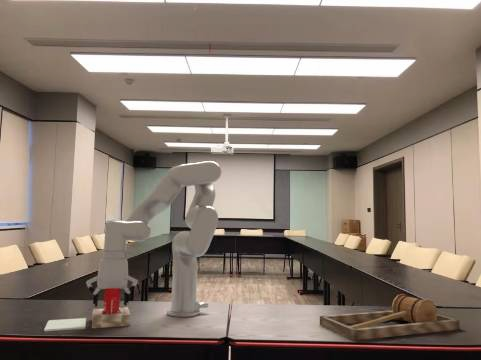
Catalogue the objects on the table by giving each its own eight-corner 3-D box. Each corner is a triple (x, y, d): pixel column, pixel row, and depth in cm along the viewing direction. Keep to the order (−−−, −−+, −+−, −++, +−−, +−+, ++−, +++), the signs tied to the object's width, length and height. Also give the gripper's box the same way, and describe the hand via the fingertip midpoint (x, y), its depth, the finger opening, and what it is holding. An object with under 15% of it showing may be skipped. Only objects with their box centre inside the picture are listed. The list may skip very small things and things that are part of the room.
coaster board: (86, 319, 132) (86, 318, 132) (85, 328, 121) (85, 326, 121) (48, 322, 128) (48, 320, 128) (43, 331, 117) (44, 329, 117)
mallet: (333, 340, 129) (329, 311, 130) (412, 317, 144) (408, 291, 145) (357, 352, 118) (353, 319, 119) (440, 325, 133) (436, 297, 134)
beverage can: (113, 324, 127) (115, 288, 128) (99, 323, 128) (101, 287, 129) (121, 321, 132) (123, 286, 133) (107, 320, 133) (110, 285, 134)
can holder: (127, 317, 137) (127, 307, 138) (130, 325, 126) (130, 314, 127) (92, 319, 133) (92, 309, 133) (91, 328, 122) (92, 317, 122)
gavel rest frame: (416, 316, 149) (416, 308, 149) (459, 329, 131) (459, 320, 131) (319, 324, 133) (319, 316, 133) (354, 340, 115) (354, 330, 115)
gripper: (138, 254, 139) (135, 302, 137) (88, 254, 133) (84, 304, 131) (140, 256, 132) (137, 306, 130) (88, 256, 126) (83, 308, 124)
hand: (110, 305), depth 130 cm, fingers open, 9 cm apart
